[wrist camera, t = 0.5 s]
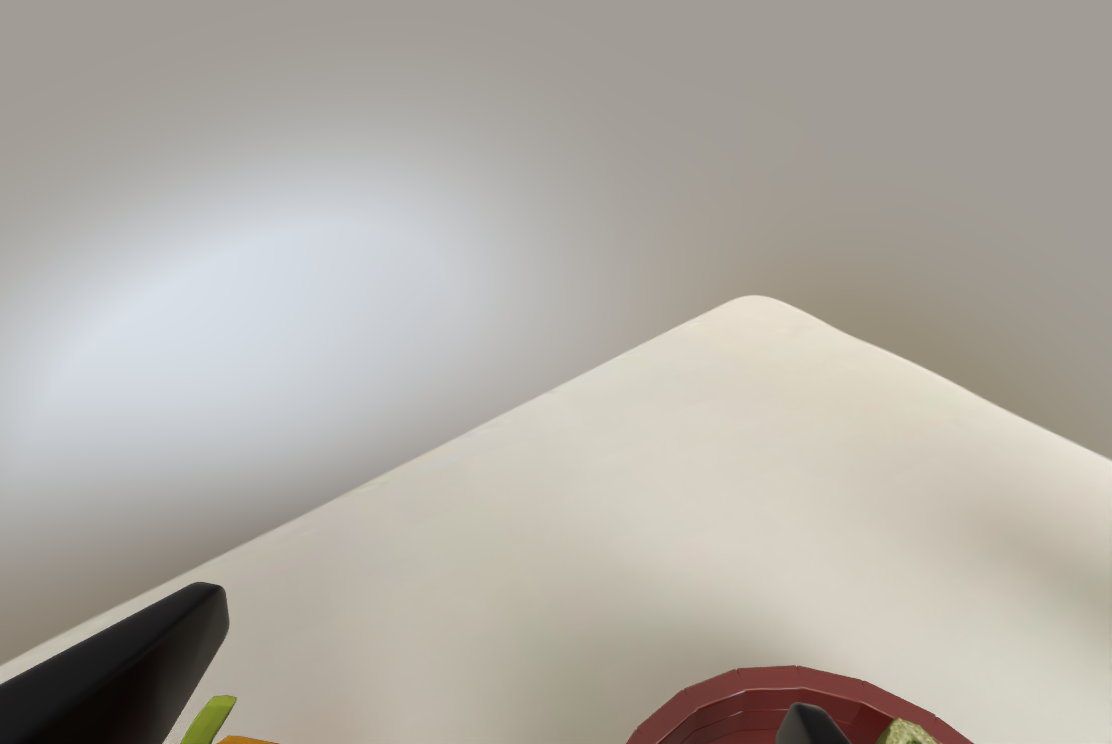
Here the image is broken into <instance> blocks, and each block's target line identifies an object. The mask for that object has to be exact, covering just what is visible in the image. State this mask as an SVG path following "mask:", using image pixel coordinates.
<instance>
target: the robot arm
mask: <svg viewBox="0 0 1112 744" xmlns="http://www.w3.org/2000/svg"><path fill="white" fill-rule="evenodd" d="M228 629H229V614H228V607H227V599H226V592H225V590H224V588H223V587H222V586H220V585H215V584H210V583H205V582H196V583H193V584H190V585H188V586H186V587H184V588H183V589H181V590H179V591H177V592H175V593H173V594H171V595H169V596H167V597H165V598H164V599H162V600H160V601H158V602H156V603H154V604H152V605H150V606H148V607H146V608H145V609H143V610H141V611H139V612H137V613H135V614H133V615H131V616H129V617H127V618H126V619H124V620H122V621H120V622H118V623H116V624H114V625H112V626H110V627H108V628H107V629H105V630H103V631H101V632H99V633H97V634H95V635H93V636H91V637H90V638H88V639H86V640H84V641H82V642H80V643H78V644H76V645H74V646H72V647H71V648H69V649H67V650H65V651H63V652H61V653H59V654H57V655H55V656H53V657H52V658H50V659H48V660H46V661H44V662H42V663H40V664H38V665H36V666H34V667H33V668H31V669H29V670H27V671H25V672H23V673H21V674H19V675H17V676H15V677H14V678H12V679H10V680H8V681H6V682H4V683H2V684H0V744H162V743H163V742H164V740H165V738H166V737H167V735H168V734H169V732H170V730H171V729H172V727H173V726H174V724H175V722H176V721H177V719H178V717H179V716H180V714H181V712H182V710H183V709H184V707H185V705H186V704H187V702H188V700H189V699H190V697H191V695H192V693H193V692H194V690H195V688H196V687H197V685H198V683H199V682H200V680H201V678H202V677H203V675H204V673H205V671H206V670H207V668H208V666H209V665H210V663H211V661H212V660H213V658H214V656H215V654H216V653H217V651H218V649H219V648H220V646H221V644H222V643H223V641H224V639H225V637H226V635H227V632H228ZM775 744H852V743H851V742H850V741H849V740H848V738H847V737H846V736H845V735H844V733H843V732H842V731H841V730H840V728H839V727H838V726H837V725H836V723H835V722H834V721H833V720H832V718H831V717H830V716H829V715H828V714H827V712H826V711H824V710H823V709H822V708H820V707H818V706H815V705H810V704H805V703H800V702H795V703H793V704H792V705H791V706H790V708H789V710H788V712H787V714H786V716H785V718H784V720H783V722H782V724H781V726H780V728H779V730H778V732H777V735H776V739H775Z"/></svg>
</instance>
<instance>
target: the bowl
mask: <svg viewBox="0 0 1112 744" xmlns="http://www.w3.org/2000/svg"><path fill="white" fill-rule="evenodd" d="M795 702H800V703H805V704H810V705H815V706H818V707H820V708H822V709H823V710H824V711H826V712H827V714H828V715H829V716H830V717H831V718H832V720H833V721H834V722H835V723H836V725H837V726H838V727H839V728H840V730H841V731H842V732H843V733H844V735H845V736H846V737H847V738H848V740H849V741H850V742H851V743H852V744H875V743H876V741H877V739H878V738H879V737H880V735H881V734H882V733H883V732H884V731H885V730H886V729H887V727H888V725H889V724H890V723H891V722H892V721H893V719H894V718H902V719H906V720H909V721H912V722H914V723H916V724H918V725H920V726H921V727H922V728H923V729H924V730H925V731H927V732H928V733H929V734H930V735H931V736H932V737H933V738H934V739H935V740H936V741H937V743H938V744H974V743H972V742H971V741H970V740H968V739H967V738H966V737H964V736H963V735H961V734H960V733H959V732H957V731H956V730H955V729H953V728H952V727H951V726H949V725H948V724H947V723H945V722H944V721H943V720H941V719H940V718H938V717H935V715H934V714H933V713H931V712H929V711H927V710H924V709H922V708H920V707H918V706H916V705H914V704H912V703H910V702H908V701H906V700H904V699H902V698H900V697H897V696H895V695H893V694H891V693H889V692H887V691H885V690H883V689H881V688H879V687H877V686H875V685H873V684H871V683H868V682H866V681H863V682H862V680H860V679H855V678H851V677H846V676H842V675H838V674H833V673H829V672H824V671H820V670H816V669H811V668H807V667H802V666H797V667H796V666H794V665H792V666H773V667H754V668H738V669H737V670H736V669H733V670H731V671H728V672H726V673H723V674H721V675H718V676H715V677H713V678H710V679H708V680H705V681H703V682H700V683H697V684H695V685H692V686H690V687H687V688H685V689H684V690H681V691H679V692H678V693H677V694H676V695H675V696H674V697H672V698H671V699H670V700H669V701H668V702H666V703H665V704H664V705H663V706H662V707H661V708H659V709H658V710H657V711H656V712H655V713H653V714H652V715H651V716H650V717H649V718H648V719H646V720H645V721H644V722H643V723H642V724H640V725H639V726H638V727H637V730H634V732H633V734H632V735H631V737H630V738H629V740H628V742H627V743H626V744H775V739H776V735H777V732H778V730H779V728H780V726H781V724H782V722H783V720H784V718H785V716H786V714H787V712H788V710H789V708H790V706H791V705H792V704H793V703H795Z"/></svg>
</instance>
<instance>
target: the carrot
mask: <svg viewBox="0 0 1112 744" xmlns="http://www.w3.org/2000/svg"><path fill="white" fill-rule="evenodd" d="M236 701H237V698H236V697H232V696H228V695H224V696H215V697H213V698H212V699H211V700H210V701H209V702H208V703H207V704H206V706H205V707H204V708H203V709H202V711H201V712H200V713H199V714H198V715H197V717H196V718H195V719H194V721H193V723H192V724H191V726H190V728H189V729H188V731H187V732H186V734H185V736H184V737H183V739H182V741H181V743H180V744H212V741H213V739H214V737H215V735H216V734H217V732H218V731H219V729H220V728H221V726H222V725H223V723H224V721H225V720H226V718H227V716H228V715H229V713H230V711H231V709H232V708H233V706H234V704H235V702H236ZM217 744H278V743H273V742H268V741H262V740H257V739H252V738H247V737H241V736H228V737H226V738H225V739H223V740H222V741H220V742H219V743H217Z"/></svg>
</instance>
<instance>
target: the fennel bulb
mask: <svg viewBox="0 0 1112 744" xmlns="http://www.w3.org/2000/svg"><path fill="white" fill-rule="evenodd" d="M875 744H938V743H937V741H936V740H935V739H934V738H933V737H932V736H931V735H930V734H929V733H928V732H927V731H925V730H924V729H923V728H922V727H921V726H920V725H918V724H916V723H914V722H912V721H909V720H906V719H902V718H894V719H893V721H892V722H891V723H890V724H889V725H888V727H887V729H886V730H885V731H884V732H883V733H882V734H881V735H880V737H879V738H878V739H877V741H876V743H875Z"/></svg>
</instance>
